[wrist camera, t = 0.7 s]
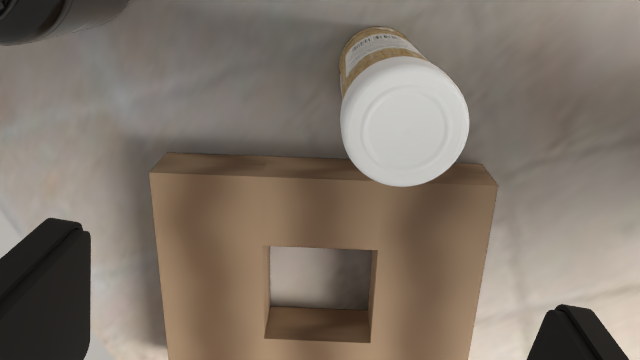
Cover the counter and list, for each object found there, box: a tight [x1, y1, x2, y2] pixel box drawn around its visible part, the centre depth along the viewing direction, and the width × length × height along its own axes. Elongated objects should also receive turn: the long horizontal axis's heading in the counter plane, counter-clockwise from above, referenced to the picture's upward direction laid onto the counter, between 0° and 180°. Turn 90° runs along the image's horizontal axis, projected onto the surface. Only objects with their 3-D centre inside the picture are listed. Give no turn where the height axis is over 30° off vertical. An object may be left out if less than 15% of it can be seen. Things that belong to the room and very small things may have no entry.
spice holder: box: [149, 153, 498, 360], centre depth 34 cm, size 20×16×4 cm
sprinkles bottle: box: [339, 27, 469, 187], centre depth 24 cm, size 5×5×13 cm
